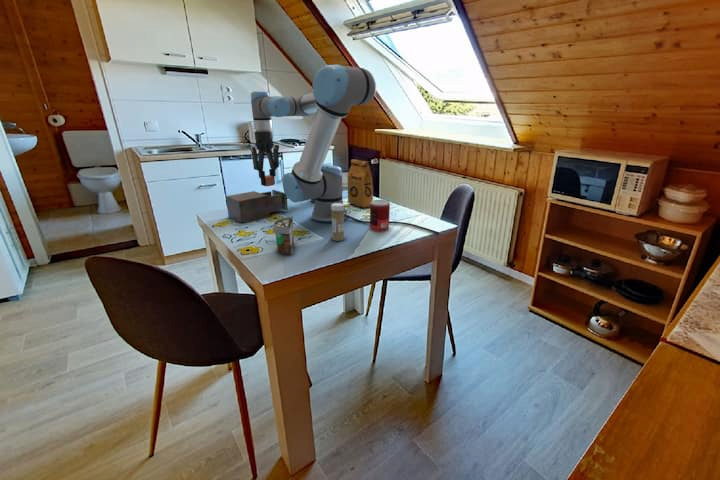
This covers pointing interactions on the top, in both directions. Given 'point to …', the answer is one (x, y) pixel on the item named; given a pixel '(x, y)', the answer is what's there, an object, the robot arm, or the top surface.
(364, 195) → the coffee package
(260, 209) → the cabinet
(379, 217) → the canned food
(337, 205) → the sprinkles bottle
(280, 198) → the drawer
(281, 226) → the food container
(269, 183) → the block
